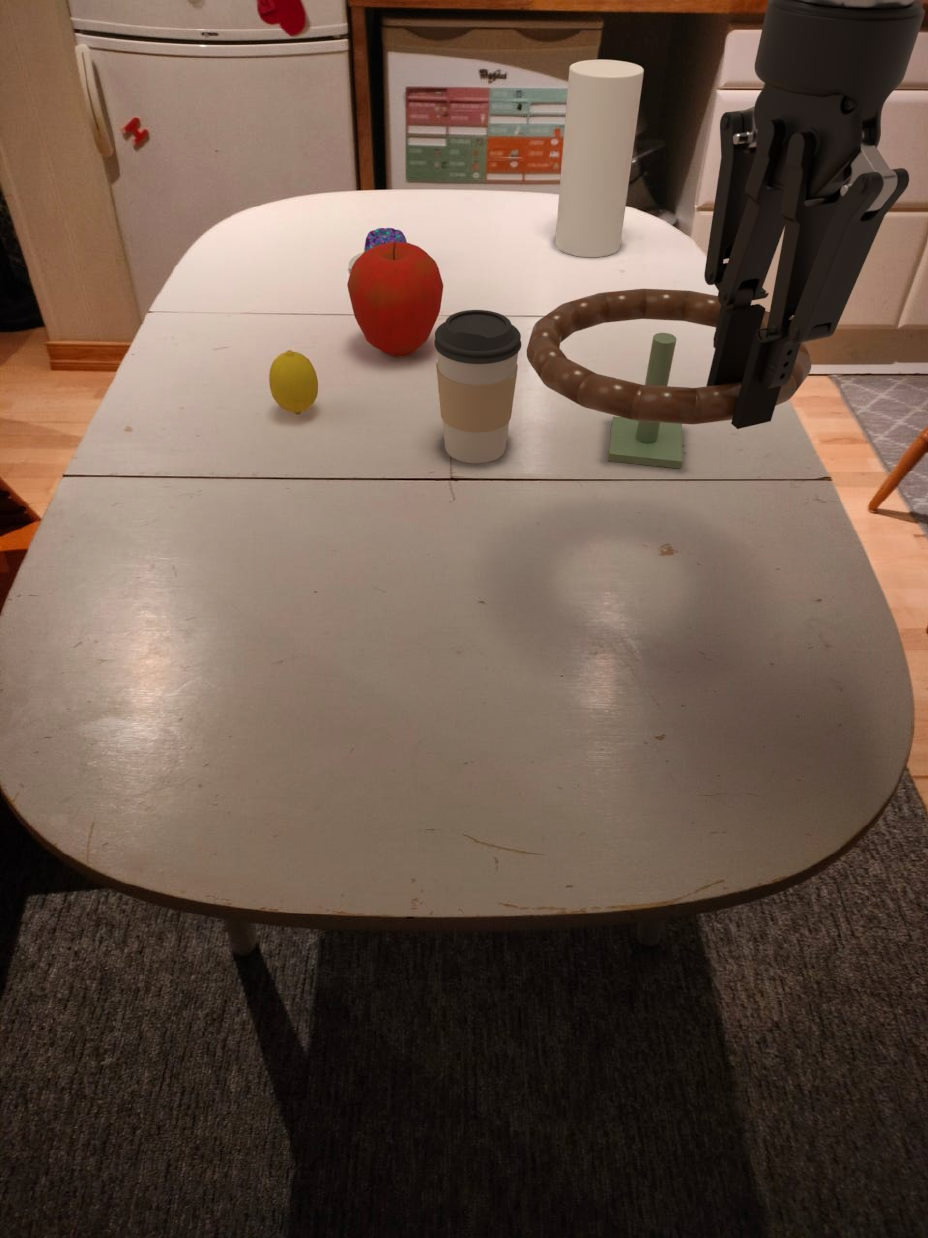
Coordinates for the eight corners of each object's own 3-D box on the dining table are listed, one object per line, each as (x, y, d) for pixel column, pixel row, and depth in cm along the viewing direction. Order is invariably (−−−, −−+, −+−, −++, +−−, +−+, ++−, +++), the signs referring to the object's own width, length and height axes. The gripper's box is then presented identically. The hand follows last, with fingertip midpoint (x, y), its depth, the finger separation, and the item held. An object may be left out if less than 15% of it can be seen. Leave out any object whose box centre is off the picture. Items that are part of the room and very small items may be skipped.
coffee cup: (449, 420, 100) (449, 295, 90) (523, 432, 98) (532, 307, 88) (425, 461, 94) (421, 332, 83) (503, 475, 92) (510, 345, 82)
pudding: (332, 271, 131) (329, 236, 127) (381, 247, 138) (379, 213, 134) (393, 290, 126) (392, 255, 122) (441, 264, 133) (440, 230, 129)
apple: (368, 325, 118) (360, 219, 108) (452, 333, 116) (452, 227, 106) (341, 367, 109) (330, 256, 99) (431, 377, 107) (429, 265, 98)
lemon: (322, 423, 99) (314, 360, 94) (274, 427, 99) (264, 364, 93) (320, 399, 103) (312, 337, 98) (274, 403, 103) (264, 341, 97)
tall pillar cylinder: (602, 262, 134) (624, 79, 117) (543, 247, 138) (556, 69, 121) (630, 241, 141) (655, 65, 123) (573, 227, 145) (590, 55, 127)
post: (680, 430, 99) (703, 324, 90) (680, 468, 93) (705, 359, 84) (611, 423, 100) (627, 317, 91) (607, 460, 94) (624, 351, 85)
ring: (787, 319, 71) (794, 291, 70) (823, 439, 56) (833, 406, 54) (542, 307, 74) (543, 279, 73) (511, 418, 59) (512, 386, 57)
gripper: (696, -30, 46) (631, 367, 63) (904, 26, 36) (760, 484, 52) (808, -36, 48) (716, 350, 65) (1035, 15, 38) (857, 459, 54)
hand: (736, 409), depth 58 cm, fingers closed on ring, 3 cm apart
